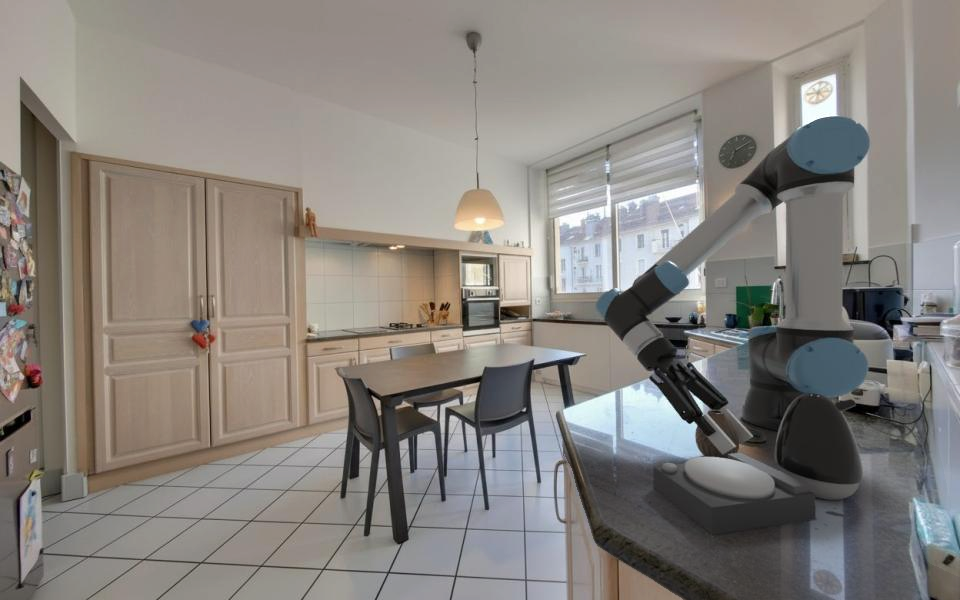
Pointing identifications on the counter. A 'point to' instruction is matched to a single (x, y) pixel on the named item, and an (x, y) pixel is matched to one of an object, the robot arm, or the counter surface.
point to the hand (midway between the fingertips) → (738, 445)
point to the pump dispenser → (819, 446)
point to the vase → (707, 446)
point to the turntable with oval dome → (734, 493)
